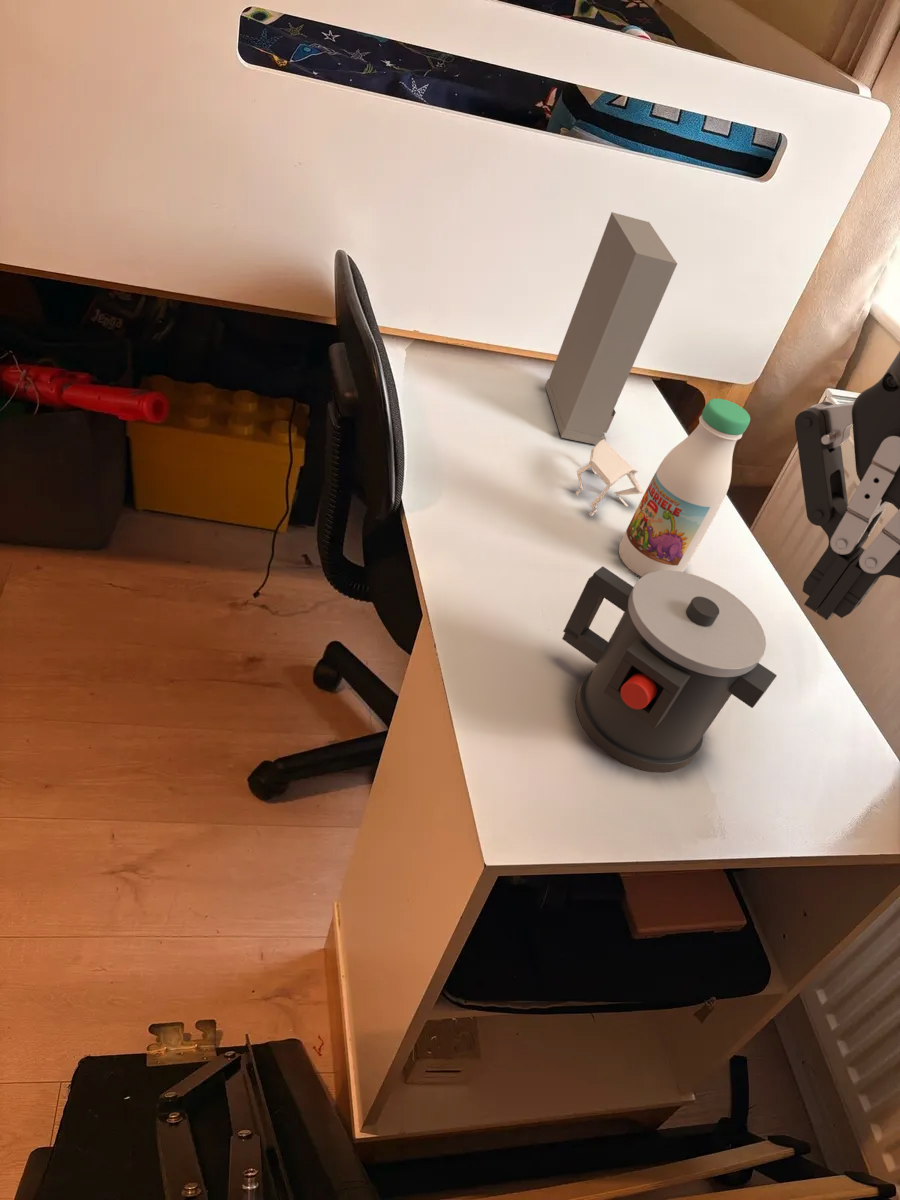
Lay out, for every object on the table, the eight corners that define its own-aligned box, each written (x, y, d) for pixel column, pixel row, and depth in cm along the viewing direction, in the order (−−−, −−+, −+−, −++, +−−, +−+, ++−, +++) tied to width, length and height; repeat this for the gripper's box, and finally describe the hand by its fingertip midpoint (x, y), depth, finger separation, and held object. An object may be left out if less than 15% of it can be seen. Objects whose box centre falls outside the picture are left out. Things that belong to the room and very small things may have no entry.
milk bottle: (644, 534, 106) (721, 384, 93) (694, 574, 102) (781, 424, 89) (603, 549, 101) (678, 393, 88) (653, 592, 97) (739, 436, 85)
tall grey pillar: (603, 448, 119) (684, 266, 103) (560, 439, 117) (635, 253, 102) (584, 396, 129) (655, 223, 113) (544, 387, 128) (610, 211, 112)
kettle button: (640, 715, 70) (653, 695, 69) (615, 697, 71) (627, 676, 70) (649, 705, 72) (662, 685, 70) (625, 687, 72) (636, 667, 71)
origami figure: (644, 524, 107) (661, 490, 104) (582, 518, 104) (597, 484, 101) (610, 466, 116) (624, 434, 113) (551, 460, 113) (565, 426, 110)
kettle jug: (672, 817, 74) (754, 703, 65) (510, 693, 80) (565, 573, 71) (732, 738, 83) (811, 629, 74) (583, 632, 89) (640, 519, 80)
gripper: (1203, 373, 38) (952, 656, 49) (919, 238, 43) (749, 521, 54) (1182, 407, 33) (907, 715, 44) (864, 250, 38) (689, 559, 49)
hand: (820, 607), depth 49 cm, fingers closed
